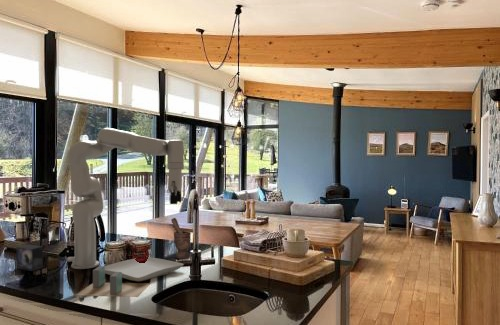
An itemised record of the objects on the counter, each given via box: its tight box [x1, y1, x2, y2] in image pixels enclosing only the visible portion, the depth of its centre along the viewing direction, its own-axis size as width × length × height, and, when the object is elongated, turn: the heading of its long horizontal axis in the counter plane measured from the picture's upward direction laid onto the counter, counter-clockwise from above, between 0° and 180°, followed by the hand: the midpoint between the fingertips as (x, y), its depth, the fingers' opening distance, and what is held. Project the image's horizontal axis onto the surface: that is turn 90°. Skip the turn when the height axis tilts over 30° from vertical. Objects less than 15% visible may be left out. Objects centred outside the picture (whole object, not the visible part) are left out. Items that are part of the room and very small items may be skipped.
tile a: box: [92, 265, 106, 288], centre depth 167 cm, size 2×6×7 cm, turn 176°
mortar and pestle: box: [170, 217, 192, 260], centre depth 216 cm, size 12×9×20 cm
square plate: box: [103, 256, 185, 282], centre depth 186 cm, size 27×27×4 cm
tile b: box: [109, 272, 123, 295], centre depth 159 cm, size 2×6×7 cm, turn 176°
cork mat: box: [74, 282, 152, 298], centre depth 163 cm, size 24×16×1 cm, turn 86°
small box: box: [15, 244, 44, 272], centre depth 195 cm, size 11×6×10 cm, turn 68°
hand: (175, 202), depth 195 cm, fingers open, 9 cm apart
